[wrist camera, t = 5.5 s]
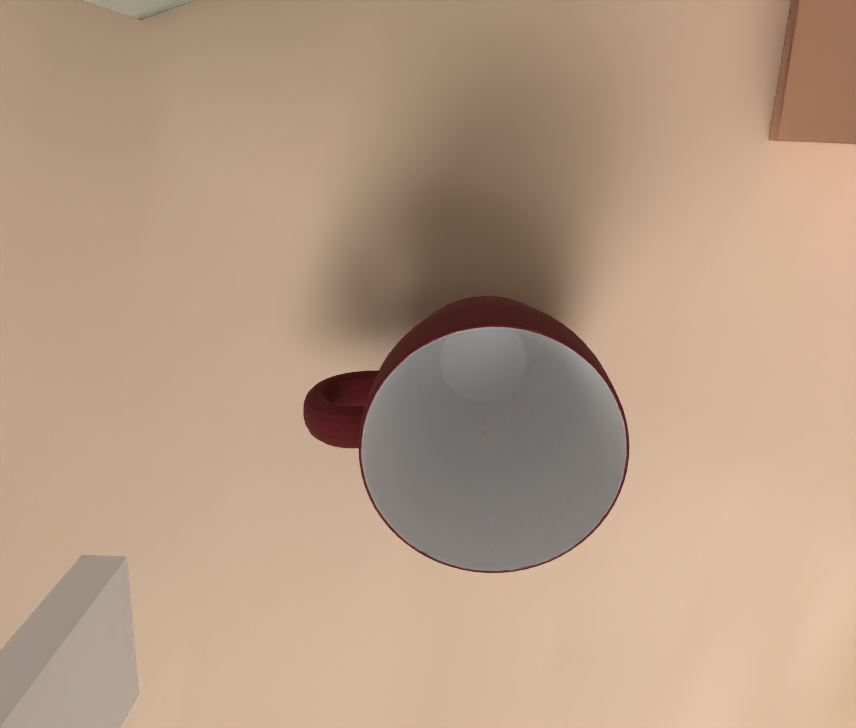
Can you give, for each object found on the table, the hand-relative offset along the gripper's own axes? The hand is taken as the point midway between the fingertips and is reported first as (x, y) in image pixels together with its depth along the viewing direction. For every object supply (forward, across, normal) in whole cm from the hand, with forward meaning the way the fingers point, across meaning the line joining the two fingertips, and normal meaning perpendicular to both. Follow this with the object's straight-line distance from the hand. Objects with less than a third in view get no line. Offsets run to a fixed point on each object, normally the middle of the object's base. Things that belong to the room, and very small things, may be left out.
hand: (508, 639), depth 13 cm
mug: (+20, -1, -1) cm, 20 cm away
